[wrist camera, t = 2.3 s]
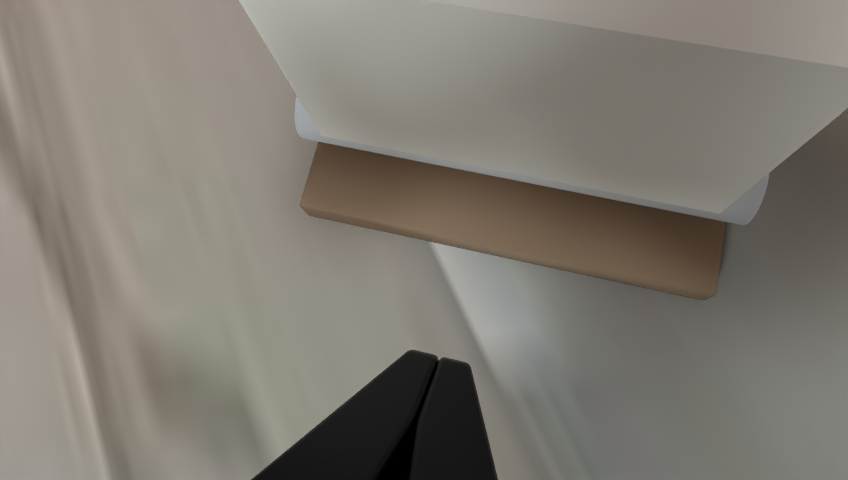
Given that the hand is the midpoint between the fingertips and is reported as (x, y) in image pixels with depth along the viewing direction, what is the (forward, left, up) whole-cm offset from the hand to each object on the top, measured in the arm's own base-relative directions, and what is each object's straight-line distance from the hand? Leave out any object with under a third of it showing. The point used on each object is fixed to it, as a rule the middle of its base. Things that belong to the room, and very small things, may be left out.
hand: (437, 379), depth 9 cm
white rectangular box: (+9, -4, -12) cm, 15 cm away
